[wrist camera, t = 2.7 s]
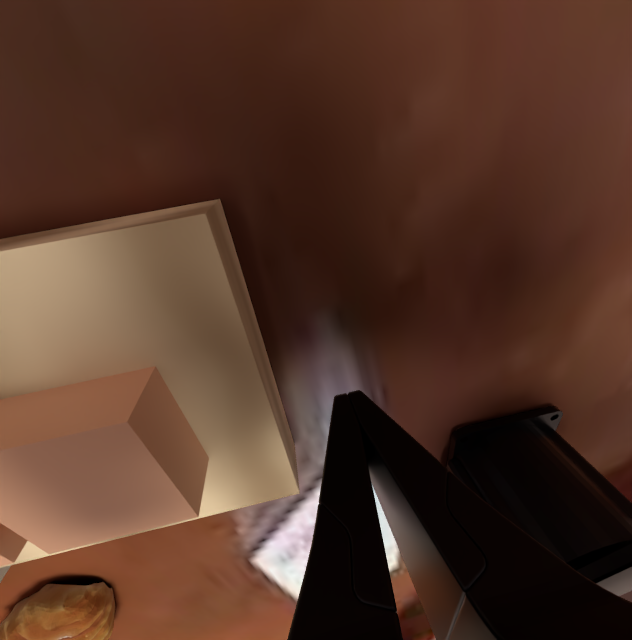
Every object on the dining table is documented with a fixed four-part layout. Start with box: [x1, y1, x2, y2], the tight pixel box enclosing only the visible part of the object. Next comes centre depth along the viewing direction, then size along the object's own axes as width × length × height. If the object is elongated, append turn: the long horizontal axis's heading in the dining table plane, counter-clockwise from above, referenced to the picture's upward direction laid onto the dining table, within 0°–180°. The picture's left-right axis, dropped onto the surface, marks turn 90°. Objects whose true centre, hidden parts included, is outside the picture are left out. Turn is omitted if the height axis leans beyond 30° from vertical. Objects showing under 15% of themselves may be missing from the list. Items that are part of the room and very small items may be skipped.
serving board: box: [0, 199, 300, 568], centre depth 10 cm, size 14×12×2 cm
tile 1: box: [0, 366, 209, 554], centre depth 8 cm, size 4×4×2 cm
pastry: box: [0, 582, 115, 640], centre depth 18 cm, size 9×7×4 cm
